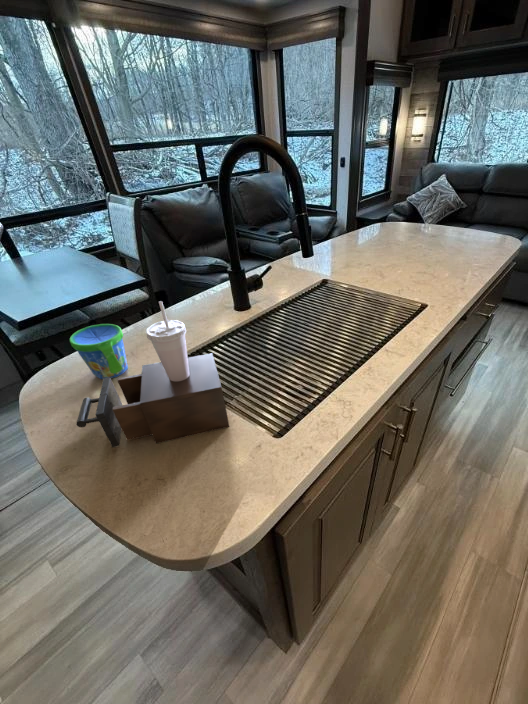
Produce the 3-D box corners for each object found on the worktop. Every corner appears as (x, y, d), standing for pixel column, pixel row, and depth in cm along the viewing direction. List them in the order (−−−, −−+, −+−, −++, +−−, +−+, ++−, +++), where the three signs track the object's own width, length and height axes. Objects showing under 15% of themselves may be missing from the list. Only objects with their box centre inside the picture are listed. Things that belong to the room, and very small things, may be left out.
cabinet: (156, 443, 61) (139, 403, 55) (156, 403, 71) (142, 365, 65) (229, 426, 64) (221, 387, 59) (220, 390, 74) (212, 353, 68)
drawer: (86, 453, 58) (66, 420, 53) (95, 413, 67) (78, 382, 62) (184, 431, 62) (174, 398, 58) (180, 396, 71) (171, 365, 66)
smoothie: (203, 369, 63) (187, 298, 54) (183, 388, 58) (162, 313, 50) (175, 364, 65) (154, 293, 56) (153, 382, 60) (127, 308, 51)
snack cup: (143, 379, 78) (128, 340, 71) (94, 395, 73) (74, 355, 67) (127, 352, 88) (113, 316, 82) (83, 364, 83) (64, 327, 77)
